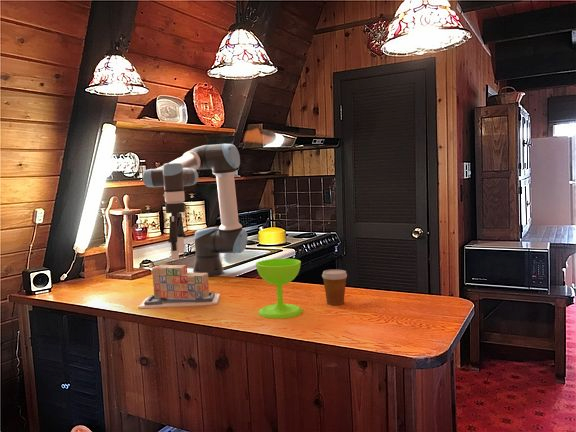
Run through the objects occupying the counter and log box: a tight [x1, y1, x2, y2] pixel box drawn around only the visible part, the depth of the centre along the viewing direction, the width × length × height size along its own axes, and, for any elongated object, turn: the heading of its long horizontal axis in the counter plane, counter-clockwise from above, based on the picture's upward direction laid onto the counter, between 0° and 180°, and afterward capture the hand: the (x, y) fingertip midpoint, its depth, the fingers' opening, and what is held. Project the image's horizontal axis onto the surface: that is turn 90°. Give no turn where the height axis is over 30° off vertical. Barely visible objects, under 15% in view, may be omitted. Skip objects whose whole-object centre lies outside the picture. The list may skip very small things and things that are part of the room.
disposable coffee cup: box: [321, 269, 348, 306], centre depth 187 cm, size 10×10×12 cm
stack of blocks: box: [151, 264, 210, 299], centre depth 198 cm, size 21×6×12 cm, turn 74°
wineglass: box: [255, 258, 304, 320], centre depth 178 cm, size 16×16×18 cm
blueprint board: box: [137, 291, 221, 309], centre depth 198 cm, size 14×30×2 cm, turn 93°
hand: (178, 256), depth 197 cm, fingers open, 13 cm apart
